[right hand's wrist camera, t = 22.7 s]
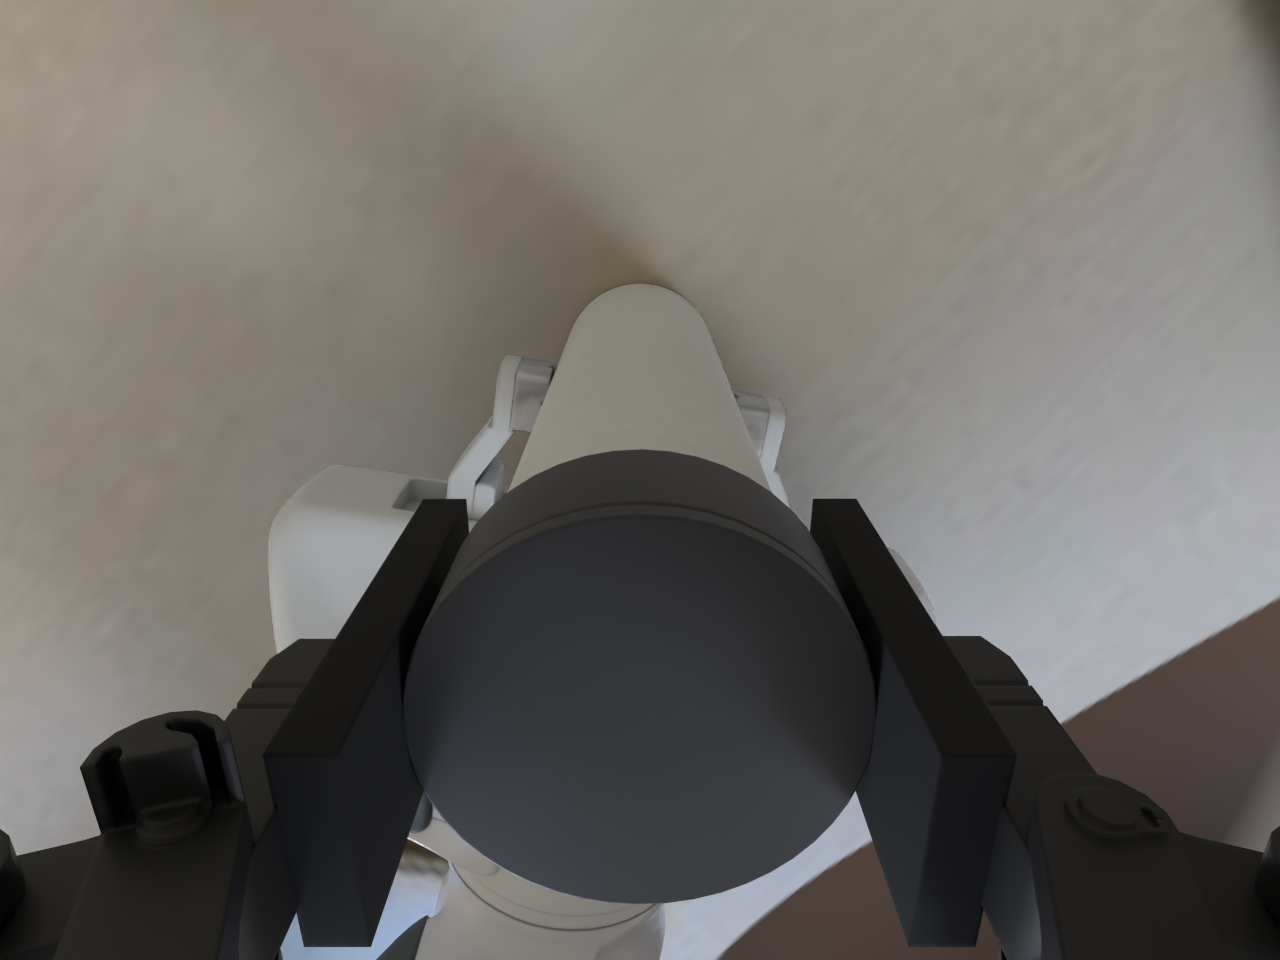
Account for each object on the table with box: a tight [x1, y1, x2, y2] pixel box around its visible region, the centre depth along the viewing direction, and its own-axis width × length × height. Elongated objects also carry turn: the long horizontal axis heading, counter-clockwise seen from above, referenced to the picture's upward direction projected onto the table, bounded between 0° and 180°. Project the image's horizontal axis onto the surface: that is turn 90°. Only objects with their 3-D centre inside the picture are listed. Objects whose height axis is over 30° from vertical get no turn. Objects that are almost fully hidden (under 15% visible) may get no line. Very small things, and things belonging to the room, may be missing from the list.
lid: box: [402, 449, 877, 904], centre depth 12 cm, size 6×6×2 cm
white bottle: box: [508, 284, 772, 492], centre depth 21 cm, size 5×5×20 cm
